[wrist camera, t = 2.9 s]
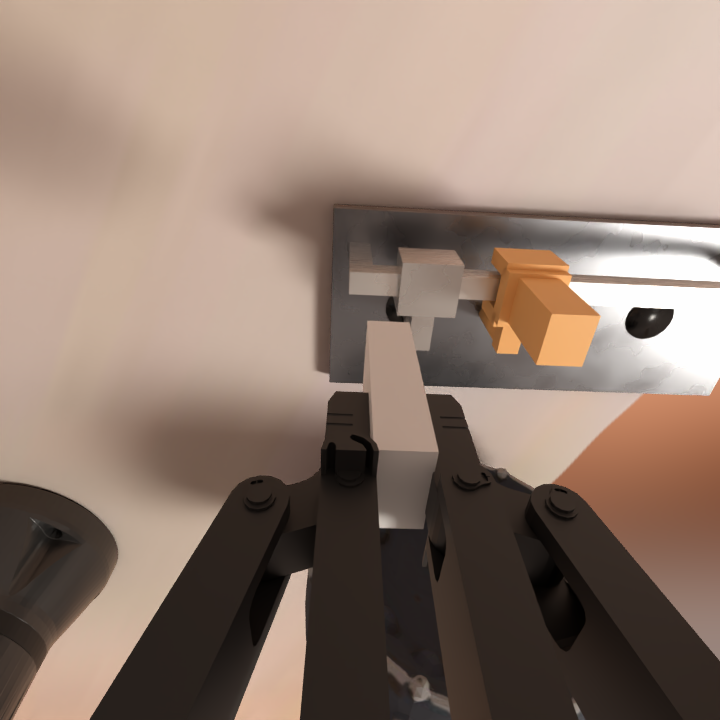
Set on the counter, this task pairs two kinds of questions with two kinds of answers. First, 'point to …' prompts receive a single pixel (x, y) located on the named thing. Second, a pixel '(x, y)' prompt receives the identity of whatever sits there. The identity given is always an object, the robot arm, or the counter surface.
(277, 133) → the counter surface
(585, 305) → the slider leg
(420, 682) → the studded round pot
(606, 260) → the bolt plate
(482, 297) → the grey slide rail
